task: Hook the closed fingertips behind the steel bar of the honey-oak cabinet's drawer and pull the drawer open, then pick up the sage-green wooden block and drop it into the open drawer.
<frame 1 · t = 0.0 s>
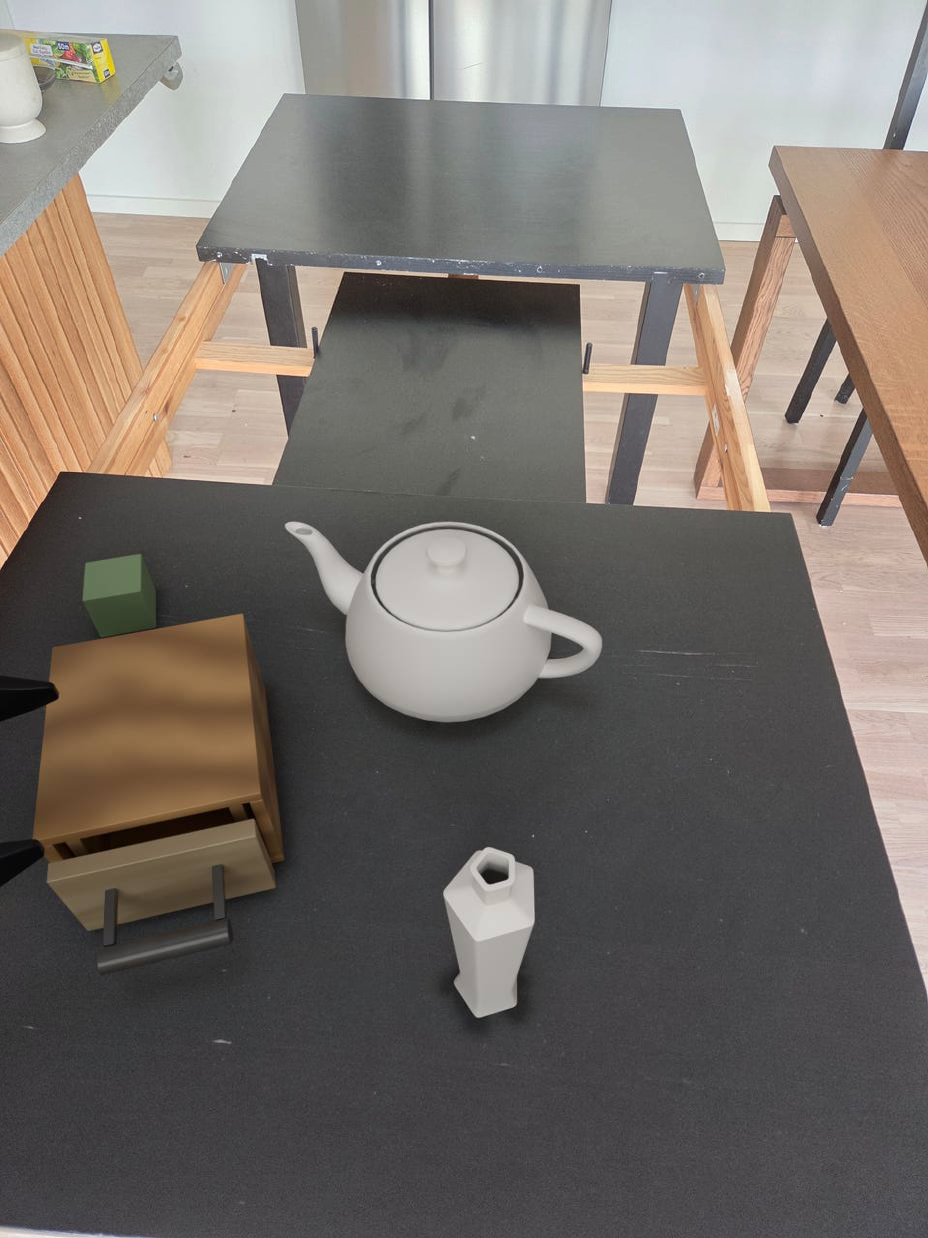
hand: (49, 763, 41), 16 cm above the table, tool horizontal, fingers open, 9 cm apart
drawer: (168, 820, 52), point 4 cm above the table, slide at 1.0 cm
white faceted vase: (484, 984, 50), on the table
teapot: (439, 659, 67), on the table
block: (129, 613, 70), on the table
cabinet: (183, 787, 59), on the table
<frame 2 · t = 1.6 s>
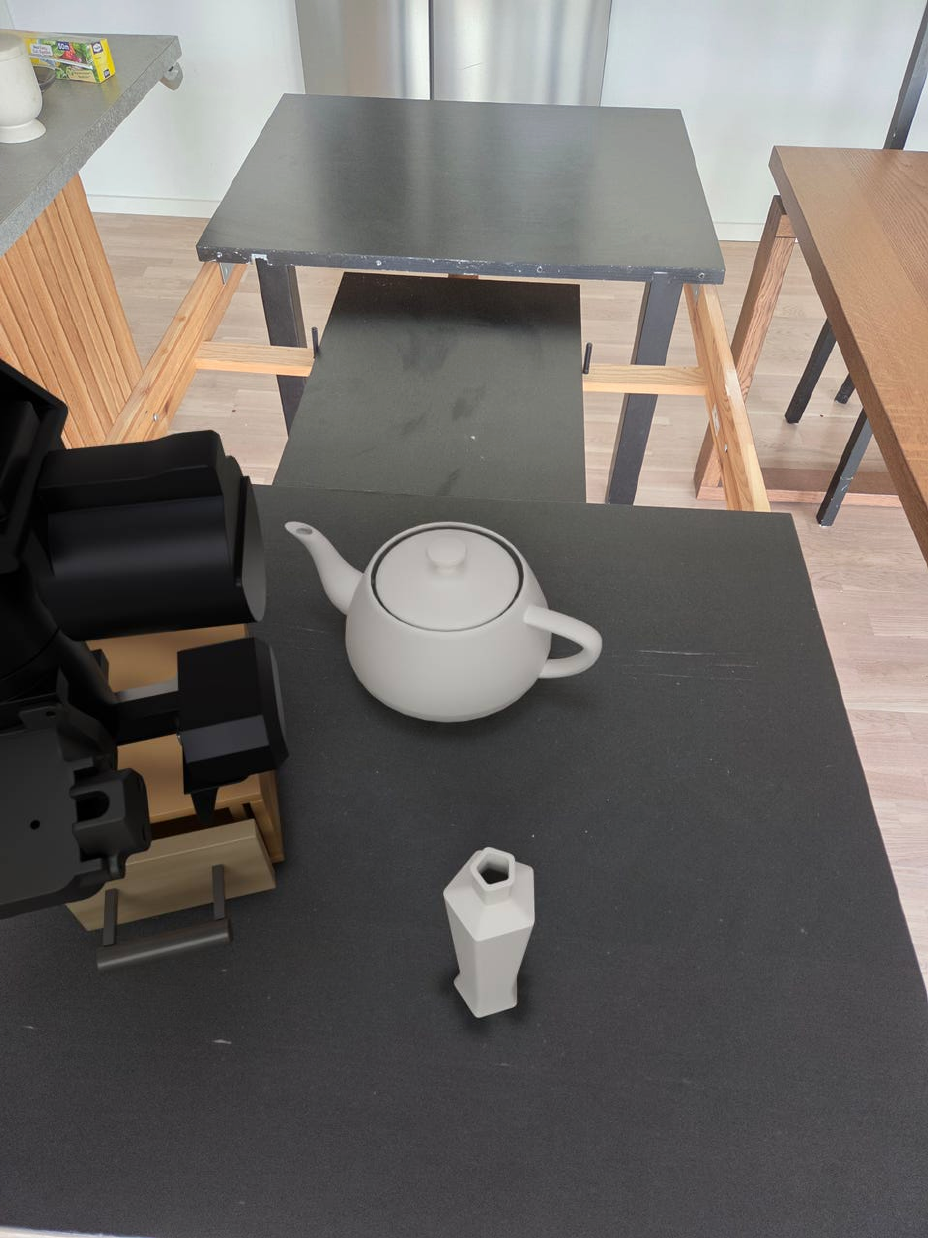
hand: (121, 837, 42), 13 cm above the table, tool pointing down, fingers open, 8 cm apart
nothing on the table moved.
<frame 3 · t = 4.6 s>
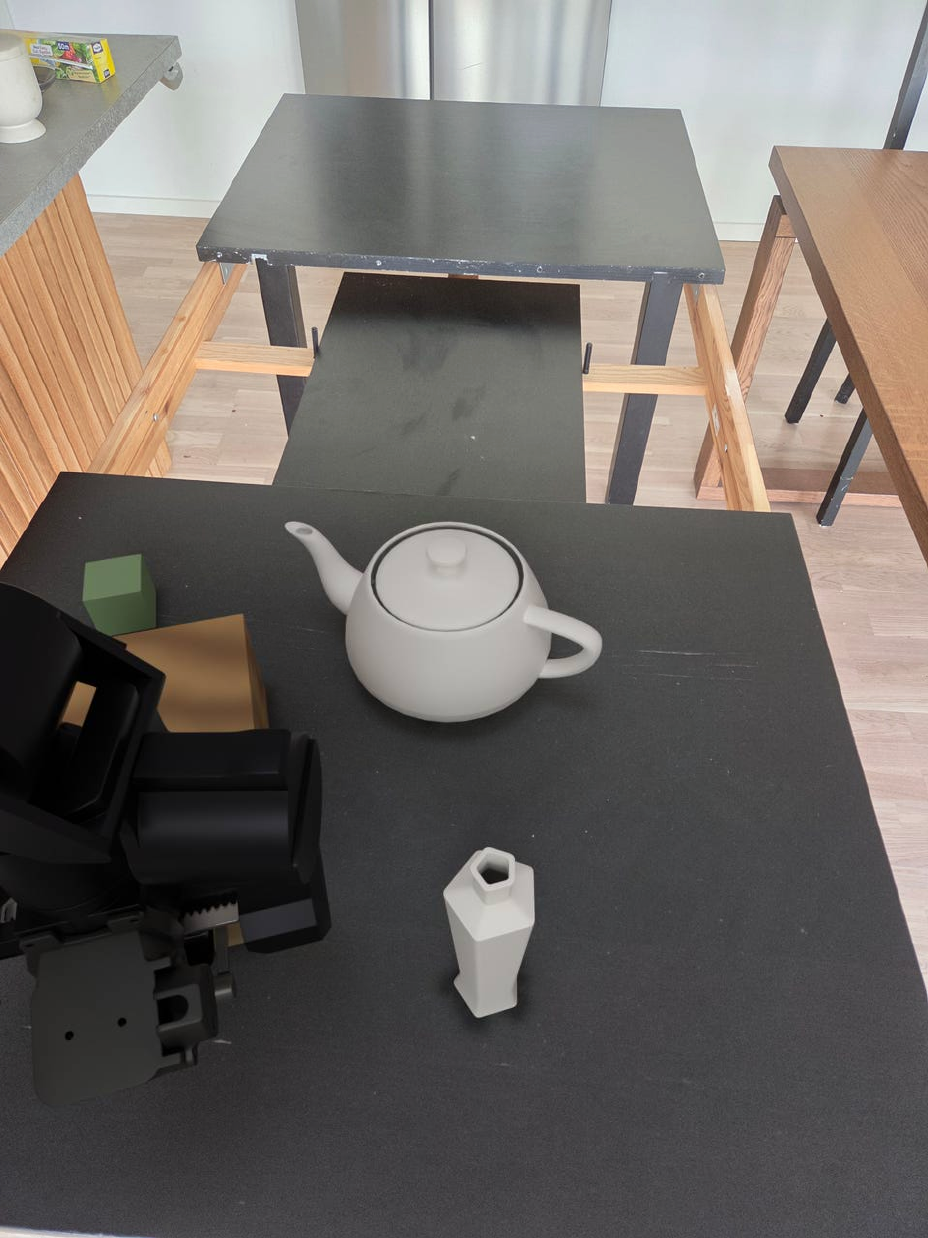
hand: (172, 978, 46), 4 cm above the table, tool pointing down, fingers closed, pressing on drawer
drawer: (168, 864, 50), point 4 cm above the table, slide at 4.0 cm, touching gripper
everything else where it was.
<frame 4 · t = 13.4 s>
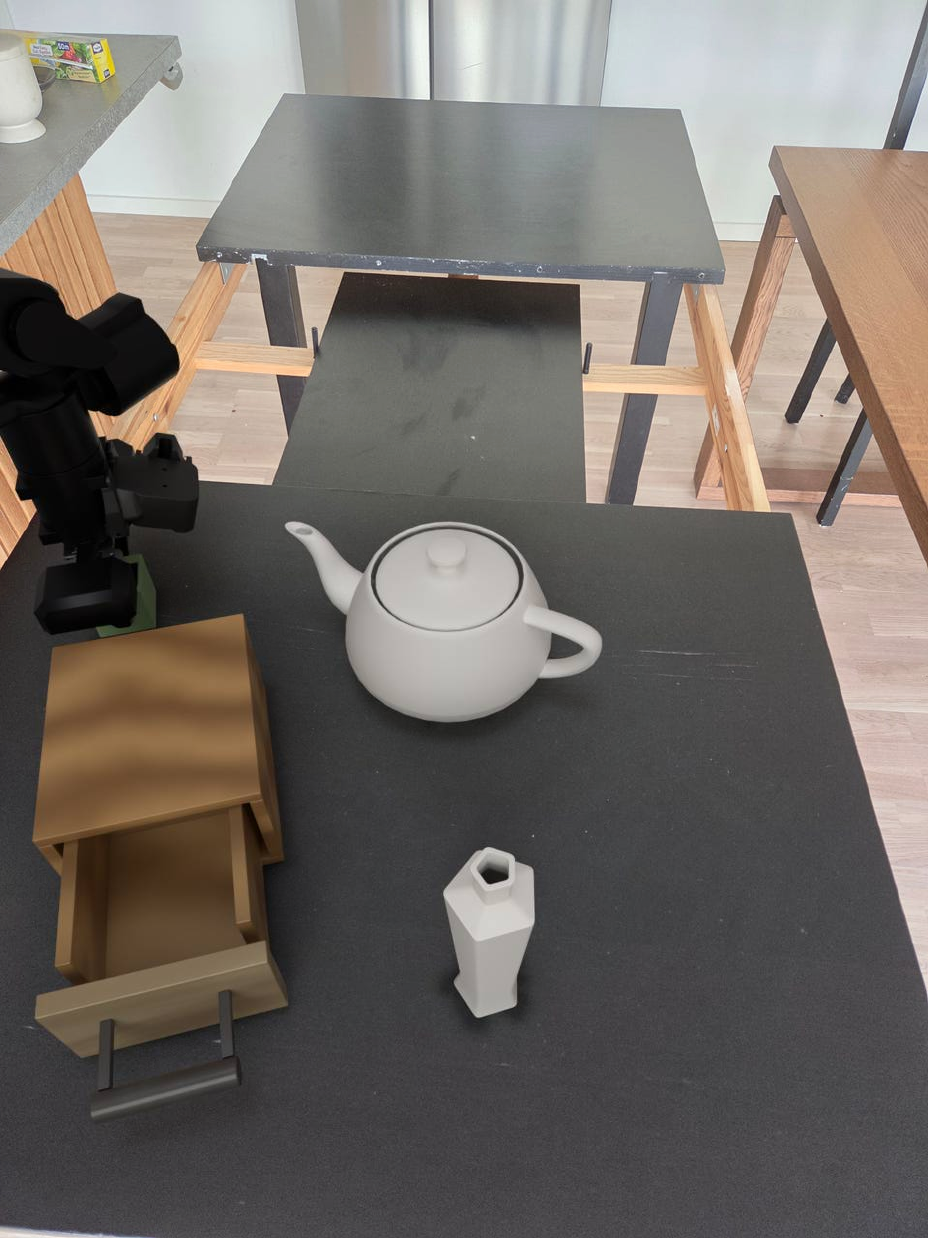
hand: (125, 605, 69), 1 cm above the table, tool pointing down, fingers closed on block, 4 cm apart
drawer: (169, 932, 48), point 4 cm above the table, slide at 8.3 cm
block: (129, 613, 70), on the table, touching gripper
everything else where it was.
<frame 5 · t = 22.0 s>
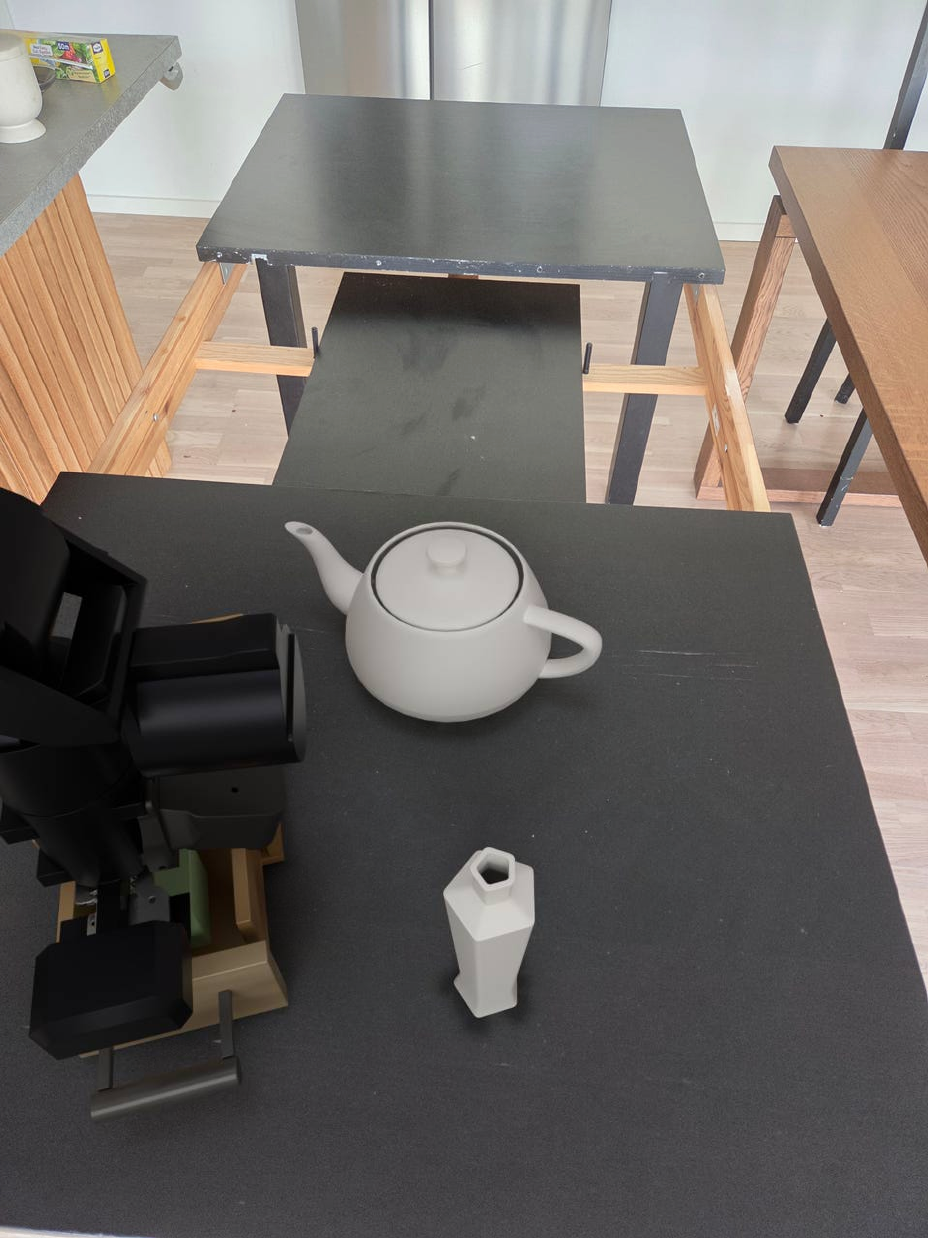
hand: (164, 910, 47), 5 cm above the table, tool pointing down, fingers closed on block, 4 cm apart
block: (170, 916, 48), point 4 cm above the table, touching gripper
everything else where it was.
when the fingers open (9 cm above the table, at t = 33.7 s): block drops 6 cm, resting on drawer.
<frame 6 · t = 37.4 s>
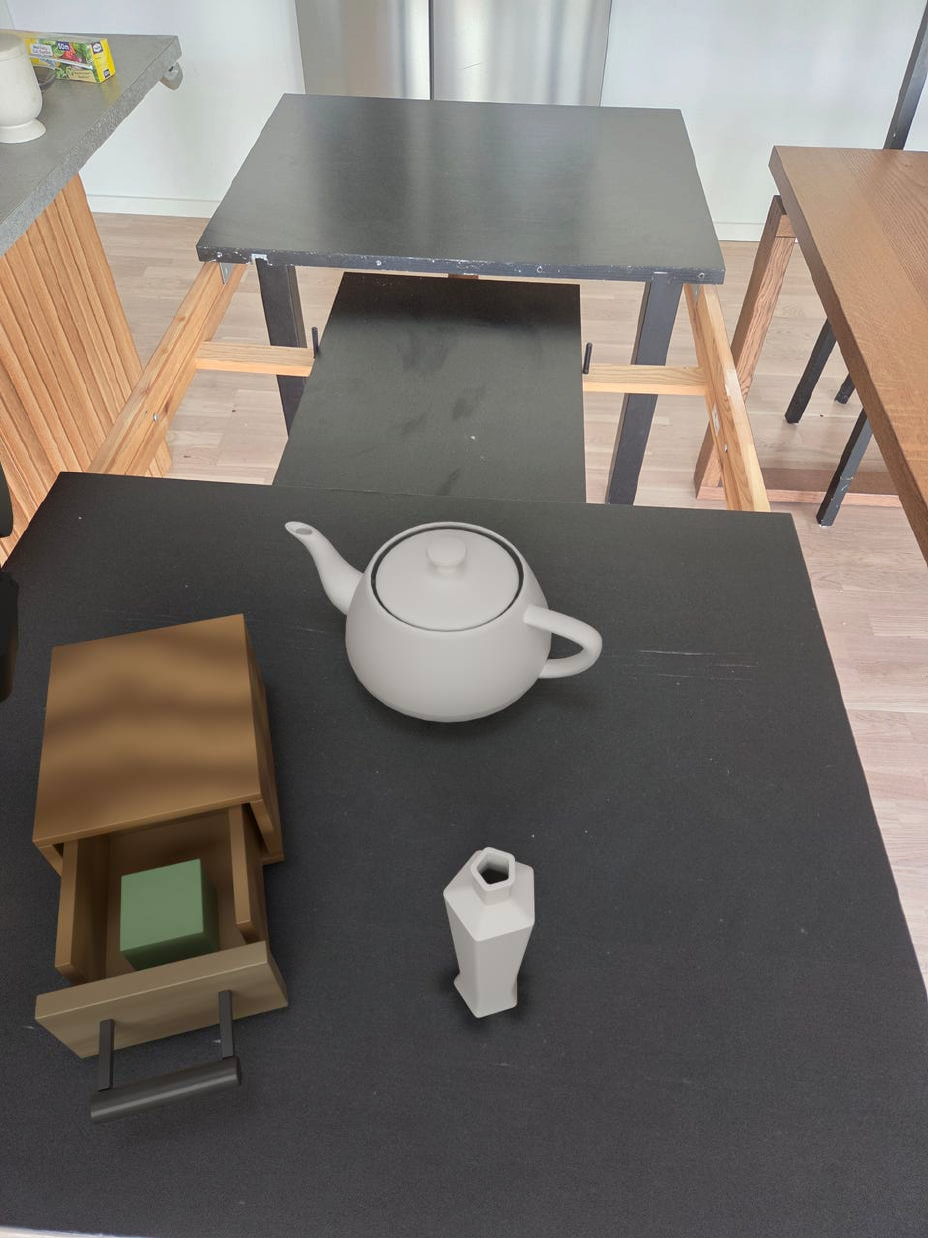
drawer: (169, 933, 48), point 4 cm above the table, slide at 8.3 cm, touching block
block: (181, 934, 50), point 2 cm above the table, touching drawer
everything else where it was.
at the end: drawer slide at 8.3 cm; block inside the target area in the drawer (0.3 cm from its centre), point 2.0 cm above the cabinet's base; white faceted vase moved 0.2 cm from its start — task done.
